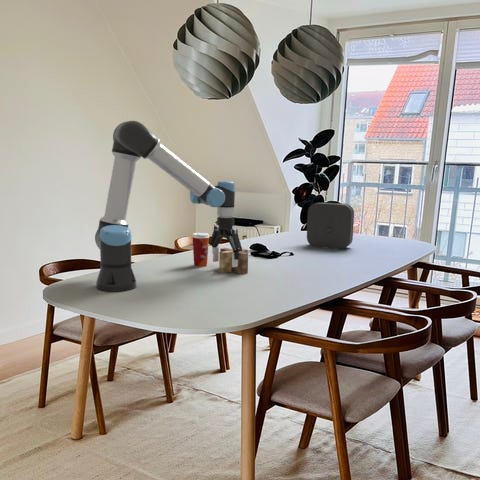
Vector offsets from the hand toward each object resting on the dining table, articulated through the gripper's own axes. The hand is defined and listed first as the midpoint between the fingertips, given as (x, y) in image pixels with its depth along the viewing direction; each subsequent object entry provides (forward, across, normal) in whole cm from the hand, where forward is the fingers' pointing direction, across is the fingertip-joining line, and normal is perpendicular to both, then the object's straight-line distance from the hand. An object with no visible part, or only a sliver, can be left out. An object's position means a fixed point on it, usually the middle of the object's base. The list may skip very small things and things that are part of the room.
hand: (225, 264), depth 239 cm
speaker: (+4, +15, -88) cm, 89 cm away
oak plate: (+4, 0, -5) cm, 6 cm away
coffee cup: (+4, +17, +1) cm, 17 cm away
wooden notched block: (+4, 0, -5) cm, 6 cm away
